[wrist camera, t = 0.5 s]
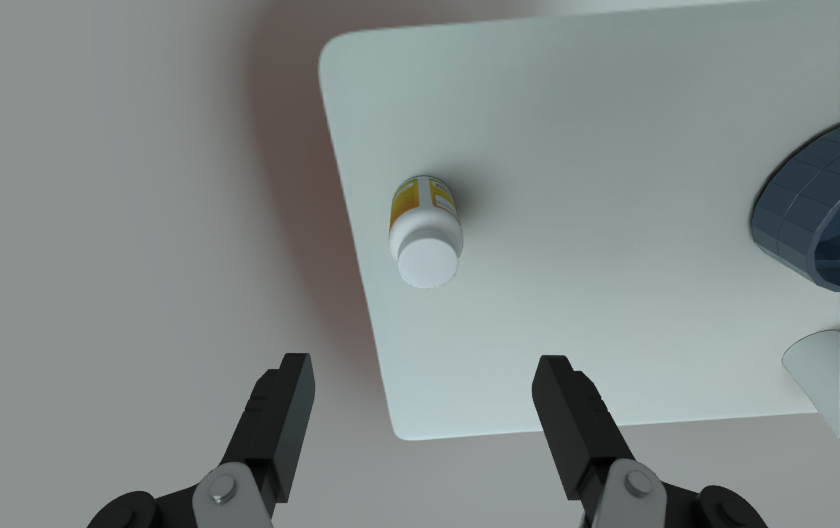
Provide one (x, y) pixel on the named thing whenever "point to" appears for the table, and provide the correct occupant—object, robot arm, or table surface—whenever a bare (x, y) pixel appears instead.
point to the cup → (818, 373)
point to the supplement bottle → (425, 232)
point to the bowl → (804, 213)
